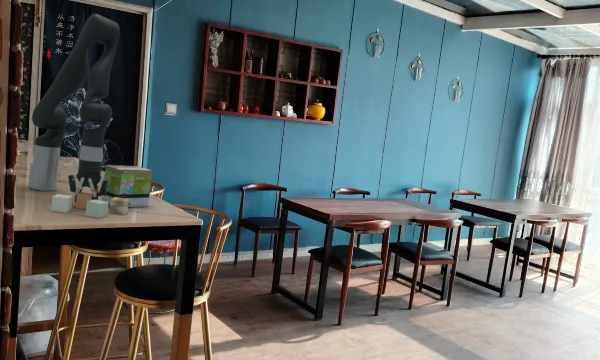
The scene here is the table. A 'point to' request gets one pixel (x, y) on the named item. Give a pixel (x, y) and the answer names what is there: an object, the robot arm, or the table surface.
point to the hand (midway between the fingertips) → (85, 205)
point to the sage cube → (96, 208)
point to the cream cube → (61, 203)
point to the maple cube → (119, 205)
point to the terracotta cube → (83, 199)
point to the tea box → (128, 184)
